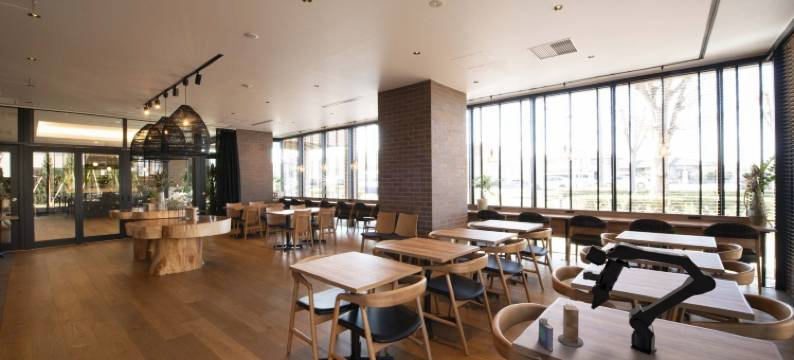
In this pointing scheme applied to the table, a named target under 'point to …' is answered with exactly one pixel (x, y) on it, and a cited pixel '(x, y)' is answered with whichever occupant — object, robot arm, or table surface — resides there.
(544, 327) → the flask
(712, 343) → the table surface
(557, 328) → the table surface
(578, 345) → the slate coaster
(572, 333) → the walnut block
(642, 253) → the robot arm
